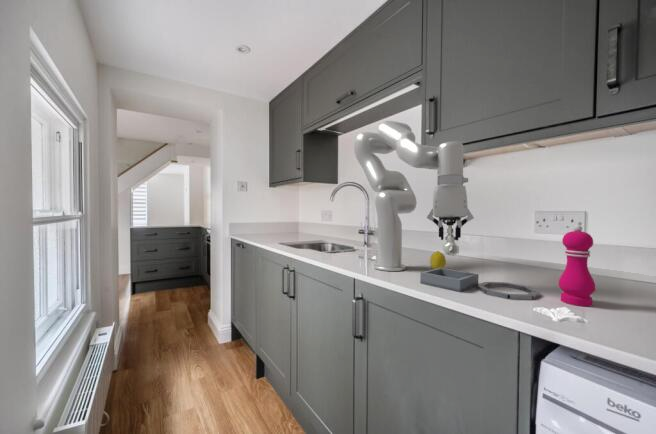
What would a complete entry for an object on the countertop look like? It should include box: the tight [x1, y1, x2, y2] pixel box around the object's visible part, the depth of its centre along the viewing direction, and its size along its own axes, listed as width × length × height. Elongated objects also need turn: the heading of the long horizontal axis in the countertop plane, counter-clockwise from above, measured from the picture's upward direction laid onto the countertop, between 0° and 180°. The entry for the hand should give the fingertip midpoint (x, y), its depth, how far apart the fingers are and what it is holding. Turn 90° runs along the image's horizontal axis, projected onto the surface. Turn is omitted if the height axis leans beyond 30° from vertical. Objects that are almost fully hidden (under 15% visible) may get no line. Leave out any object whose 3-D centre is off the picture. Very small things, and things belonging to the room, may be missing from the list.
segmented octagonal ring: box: [476, 281, 541, 301], centre depth 85 cm, size 15×15×1 cm
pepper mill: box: [558, 224, 596, 307], centre depth 75 cm, size 7×7×20 cm
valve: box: [438, 217, 460, 256], centre depth 92 cm, size 7×7×12 cm
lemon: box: [429, 250, 447, 270], centre depth 111 cm, size 6×6×8 cm
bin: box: [419, 267, 479, 293], centre depth 93 cm, size 13×12×4 cm
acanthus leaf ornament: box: [532, 306, 590, 324], centre depth 65 cm, size 8×7×2 cm
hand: (449, 239), depth 93 cm, fingers closed on valve, 3 cm apart
